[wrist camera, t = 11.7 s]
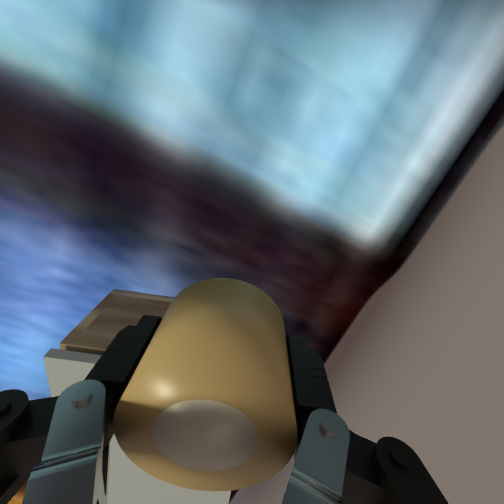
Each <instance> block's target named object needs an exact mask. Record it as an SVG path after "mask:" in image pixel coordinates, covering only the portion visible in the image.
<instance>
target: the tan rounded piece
mask: <svg viewBox="0 0 504 504" xmlns="http://www.w3.org/2000/svg"><path fill="white" fill-rule="evenodd" d="M113 429H114V434H115V437H116V440H117V442H118V444H119V446H120V448H121V449H122V451H123V452H124V453H125V455H126V456H127V457H128V458H129V459H130V460H131V461H132V462H133V463H134V464H135V465H136V466H138V467H139V468H140V469H142V470H143V471H145V472H146V473H148V474H149V475H151V476H153V477H155V478H157V479H159V480H161V481H164V482H166V483H169V484H172V485H175V486H178V487H183V488H187V489H192V490H199V491H231V490H237V489H242V488H246V487H250V486H253V485H256V484H258V483H261V482H263V481H265V480H267V479H269V478H271V477H272V476H274V475H275V474H276V473H278V472H279V471H280V470H281V469H283V468H284V466H285V465H286V464H287V463H288V462H289V460H290V459H291V457H292V455H293V454H294V451H295V449H296V445H297V424H296V416H295V408H294V400H293V392H292V384H291V376H290V368H289V360H288V352H287V344H286V336H285V328H284V322H283V318H282V315H281V312H280V310H279V309H278V307H277V305H276V304H275V303H274V301H273V300H272V299H271V298H270V297H269V296H268V295H267V294H266V293H264V292H263V291H262V290H260V289H258V288H257V287H255V286H253V285H251V284H249V283H246V282H243V281H240V280H235V279H227V278H214V279H208V280H203V281H200V282H197V283H195V284H192V285H190V286H189V287H187V288H185V289H184V290H183V291H181V292H180V293H179V294H178V295H177V296H176V297H175V298H174V299H173V301H172V302H171V304H170V306H169V308H168V309H167V311H166V313H165V315H164V317H163V319H162V321H161V323H160V325H159V326H158V328H157V330H156V332H155V334H154V336H153V338H152V340H151V342H150V343H149V345H148V347H147V349H146V351H145V353H144V355H143V357H142V359H141V360H140V362H139V364H138V366H137V368H136V370H135V372H134V374H133V376H132V377H131V379H130V381H129V383H128V385H127V387H126V389H125V391H124V393H123V394H122V396H121V398H120V400H119V402H118V404H117V407H116V409H115V412H114V417H113Z"/></svg>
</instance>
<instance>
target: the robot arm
mask: <svg viewBox="0 0 504 504" xmlns="http://www.w3.org/2000/svg"><path fill="white" fill-rule="evenodd" d="M161 321H162V318H161V317H158V316H151V315H143V316H142V317H141V319H140V321H139V322H138V324H137V325H136V326H134V325H128V326H127V327H125V328H124V329H122V330H121V331H119V332H118V333H117V335H116V336H115V338H114V339H113V340H112V343H110V344H109V346H108V347H107V349H106V351H104V353H103V354H102V356H101V357H100V358H99V360H98V361H97V363H96V364H95V365H94V367H93V368H92V369H91V371H90V372H89V374H88V375H87V376H86V378H85V379H84V380H83V381H79V382H76V383H74V384H72V385H71V386H69V387H68V388H66V389H65V390H64V391H63V392H62V393H61V394H60V395H59V396H55V397H50V398H43V399H37V400H30V401H29V400H28V396H27V394H26V393H25V392H24V391H21V390H15V389H12V390H5V391H1V392H0V504H7V503H8V502H9V501H10V500H11V499H12V497H13V496H14V495H15V494H16V493H17V492H18V490H19V489H20V488H21V487H22V486H23V485H24V483H25V482H26V481H27V480H28V479H29V480H28V484H27V488H26V491H25V495H24V498H23V502H22V504H107V499H108V482H109V464H110V447H111V444H110V441H111V439H112V437H113V435H114V429H113V417H114V412H115V409H116V407H117V404H118V402H119V400H120V398H121V396H122V394H123V393H124V391H125V389H126V387H127V385H128V383H129V381H130V379H131V377H132V376H133V374H134V372H135V370H136V368H137V366H138V364H139V362H140V360H141V359H142V357H143V355H144V353H145V351H146V349H147V347H148V345H149V343H150V342H151V340H152V338H153V336H154V334H155V332H156V330H157V328H158V326H159V325H160V323H161ZM286 344H287V352H288V360H289V368H290V376H291V384H292V392H293V400H294V408H295V416H296V424H297V445H296V449H295V451H294V459H295V462H294V465H293V469H292V472H291V475H290V478H289V482H288V485H287V488H286V491H285V494H284V498H283V501H282V504H448V502H447V500H446V499H445V498H444V496H443V494H442V493H441V491H440V490H439V488H438V487H437V485H436V483H435V482H434V480H433V479H432V477H431V476H430V474H429V472H428V471H427V469H426V468H425V466H424V465H423V463H422V461H421V460H420V459H419V457H418V455H417V454H416V453H415V452H414V451H413V449H411V448H410V447H409V446H408V445H407V444H405V443H404V442H402V441H401V440H399V439H396V438H393V437H383V438H381V439H380V440H379V441H378V442H377V443H374V442H372V441H370V440H368V439H365V438H363V437H361V436H359V435H357V434H355V433H353V432H352V431H350V430H349V429H348V426H347V424H346V423H345V421H344V420H343V419H342V418H341V417H340V416H339V415H338V414H337V412H336V408H335V404H334V401H333V397H332V393H331V389H330V386H329V383H328V380H327V375H326V371H325V367H324V363H323V360H322V358H321V357H320V355H319V354H318V353H317V351H316V350H315V349H308V348H307V345H306V341H305V337H304V336H300V335H293V334H287V336H286Z"/></svg>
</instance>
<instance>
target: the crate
mask: <svg viewBox="0 0 504 504" xmlns="http://www.w3.org/2000/svg"><path fill="white" fill-rule="evenodd" d="M173 299H174V298H172V297H165V296H158V295H151V294H143V293H136V292H129V291H122V290H115V289H113V290H112V291H111V292H110V293H109V294H108V295H107V296H106V297H105V298H104V299H103V300H102V301H101V302H100V303H99V304H98V305H97V306H96V307H95V308H94V309H93V310H92V311H91V312H90V313H89V314H88V315H87V316H86V317H85V318H84V319H83V320H82V321H81V322H80V323H79V324H78V325H77V326H76V327H75V328H74V329H73V330H72V331H71V332H70V333H69V334H68V335H67V336H66V337H65V338H64V339H63V340H62V341H61V342H60V350H66V351H74V352H81V353H89V354H96V355H102V354H103V353H104V351H106V349H107V347H108V346H109V344H110V343H112V340H113V339H114V338H115V336H116V335H117V333H118V332H119V331H121V330H122V329H124V328H125V327H127V326H128V325H134V326H136V325H137V324H138V322H139V321H140V319H141V317H142V316H143V315H151V316H158V317H161V318H162V319H163V317H164V315H165V313H166V311H167V309H168V308H169V306H170V304H171V302H172V301H173Z"/></svg>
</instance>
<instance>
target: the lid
mask: <svg viewBox="0 0 504 504" xmlns="http://www.w3.org/2000/svg"><path fill="white" fill-rule="evenodd" d="M101 356H102V355H96V354H89V353H81V352H74V351H66V350H59V349H52V348H51V349H50V350H49V351H48V352H47V353H46V354H45V355H44V357H43V358H44V363H45V368H46V373H47V378H48V383H49V387H50V392H51V397H55V396H59V395H60V394H61V393H62V392H63V391H64V390H65V389H66V388H68V387H69V386H71V385H72V384H74V383H76V382H79V381H83V380H84V379H85V378H86V376H87V375H88V374H89V372H90V371H91V369H92V368H93V367H94V365H95V364H96V363H97V361H98V360H99V358H100V357H101ZM110 444H111V447H110V464H109V482H108V499H107V504H228V503H229V498H230V493H231V491H199V490H192V489H187V488H183V487H178V486H175V485H172V484H169V483H166V482H164V481H161V480H159V479H157V478H155V477H153V476H151V475H149V474H148V473H146V472H145V471H143V470H142V469H140V468H139V467H138V466H136V465H135V464H134V463H133V462H132V461H131V460H130V459H129V458H128V457H127V456H126V455H125V453H124V452H123V451H122V449H121V448H120V446H119V444H118V442H117V440H116V437H115V434H114V435H113V437H112V439H111V441H110Z"/></svg>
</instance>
